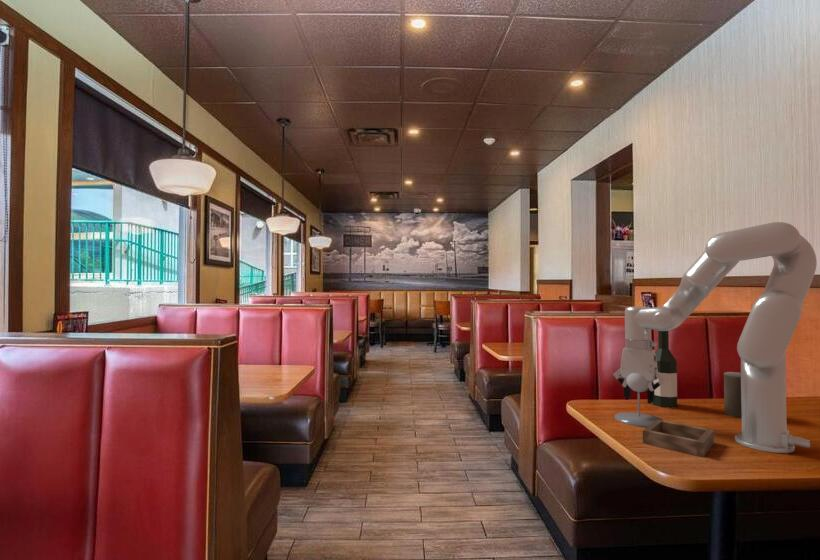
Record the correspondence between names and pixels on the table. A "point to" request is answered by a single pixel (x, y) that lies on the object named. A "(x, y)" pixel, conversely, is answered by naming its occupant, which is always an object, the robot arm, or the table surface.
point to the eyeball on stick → (637, 386)
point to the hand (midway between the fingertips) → (638, 400)
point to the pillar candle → (732, 394)
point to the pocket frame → (679, 437)
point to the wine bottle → (665, 373)
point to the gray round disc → (636, 419)
